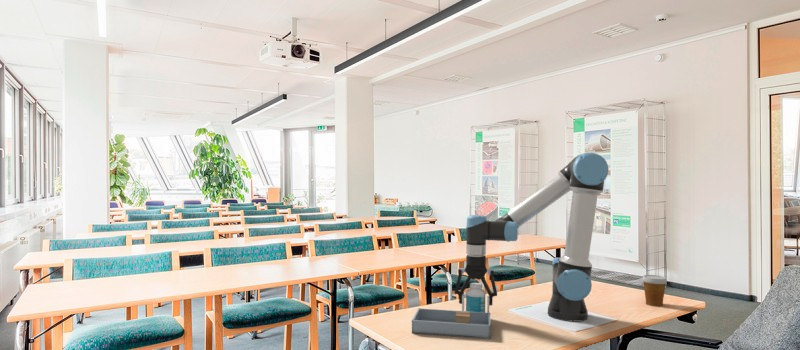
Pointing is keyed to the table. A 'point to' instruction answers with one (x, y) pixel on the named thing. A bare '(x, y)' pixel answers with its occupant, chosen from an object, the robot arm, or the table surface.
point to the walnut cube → (463, 317)
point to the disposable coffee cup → (654, 289)
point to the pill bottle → (475, 298)
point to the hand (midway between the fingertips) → (475, 312)
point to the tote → (450, 323)
